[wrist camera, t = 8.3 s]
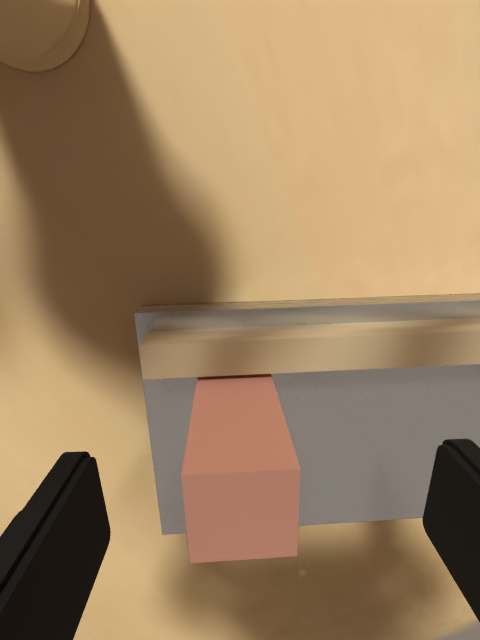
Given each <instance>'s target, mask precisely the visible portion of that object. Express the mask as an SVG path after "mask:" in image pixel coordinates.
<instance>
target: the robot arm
mask: <svg viewBox="0 0 480 640" xmlns="http://www.w3.org/2000/svg"><path fill="white" fill-rule="evenodd" d="M423 526H424V529H425V532H426V533H427V535H428V537H429V539H430V540H431V542H432V544H433V545H434V547H435V549H436V550H437V552H438V554H439V555H440V557H441V559H442V560H443V562H444V564H445V565H446V567H447V569H448V570H449V572H450V574H451V575H452V577H453V579H454V580H455V582H456V584H457V585H458V587H459V589H460V590H461V592H462V594H463V595H464V597H465V599H466V600H467V602H468V604H469V605H470V607H471V609H472V610H473V612H474V614H475V615H476V617H477V619H478V620H479V622H480V448H479V447H478V446H477V445H476V444H475V443H474V442H473V441H472V440H470V439H447V440H444V441H443V443H442V445H439V446H438V448H437V451H436V456H435V461H434V466H433V470H432V475H431V480H430V485H429V490H428V495H427V499H426V504H425V509H424V514H423ZM109 541H110V526H109V521H108V516H107V511H106V506H105V501H104V496H103V492H102V487H101V482H100V477H99V472H98V467H97V462H96V459H95V458H94V457H90V455H89V453H88V452H65V453H63V454H62V455H61V456H60V458H59V459H58V460H57V462H56V463H55V465H54V466H53V468H52V469H51V470H50V472H49V473H48V475H47V476H46V477H45V479H44V480H43V482H42V483H41V484H40V486H39V487H38V489H37V490H36V492H35V493H34V494H33V496H32V497H31V499H30V500H29V501H28V503H27V504H26V506H25V507H24V508H23V510H22V511H20V512H19V513H18V514H17V515H16V516H15V517H14V519H13V520H12V521H11V523H10V524H9V525H8V527H7V528H6V530H5V531H4V532H3V534H2V535H1V537H0V640H73V638H74V635H75V633H76V630H77V627H78V625H79V622H80V619H81V617H82V614H83V611H84V609H85V606H86V603H87V601H88V598H89V595H90V593H91V590H92V587H93V585H94V582H95V579H96V577H97V574H98V571H99V569H100V566H101V563H102V561H103V558H104V555H105V553H106V550H107V548H108V544H109Z"/></svg>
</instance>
